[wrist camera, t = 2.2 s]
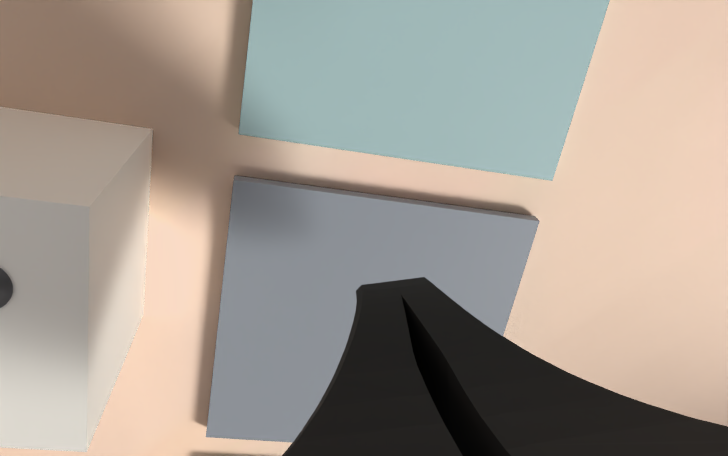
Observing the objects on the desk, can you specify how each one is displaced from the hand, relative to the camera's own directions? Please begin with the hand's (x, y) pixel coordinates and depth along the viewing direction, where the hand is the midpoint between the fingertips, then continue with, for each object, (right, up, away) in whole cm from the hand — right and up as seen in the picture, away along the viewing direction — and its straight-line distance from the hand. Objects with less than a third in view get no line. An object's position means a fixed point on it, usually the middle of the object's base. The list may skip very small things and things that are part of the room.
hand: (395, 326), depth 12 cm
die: (-8, +2, +1) cm, 8 cm away
